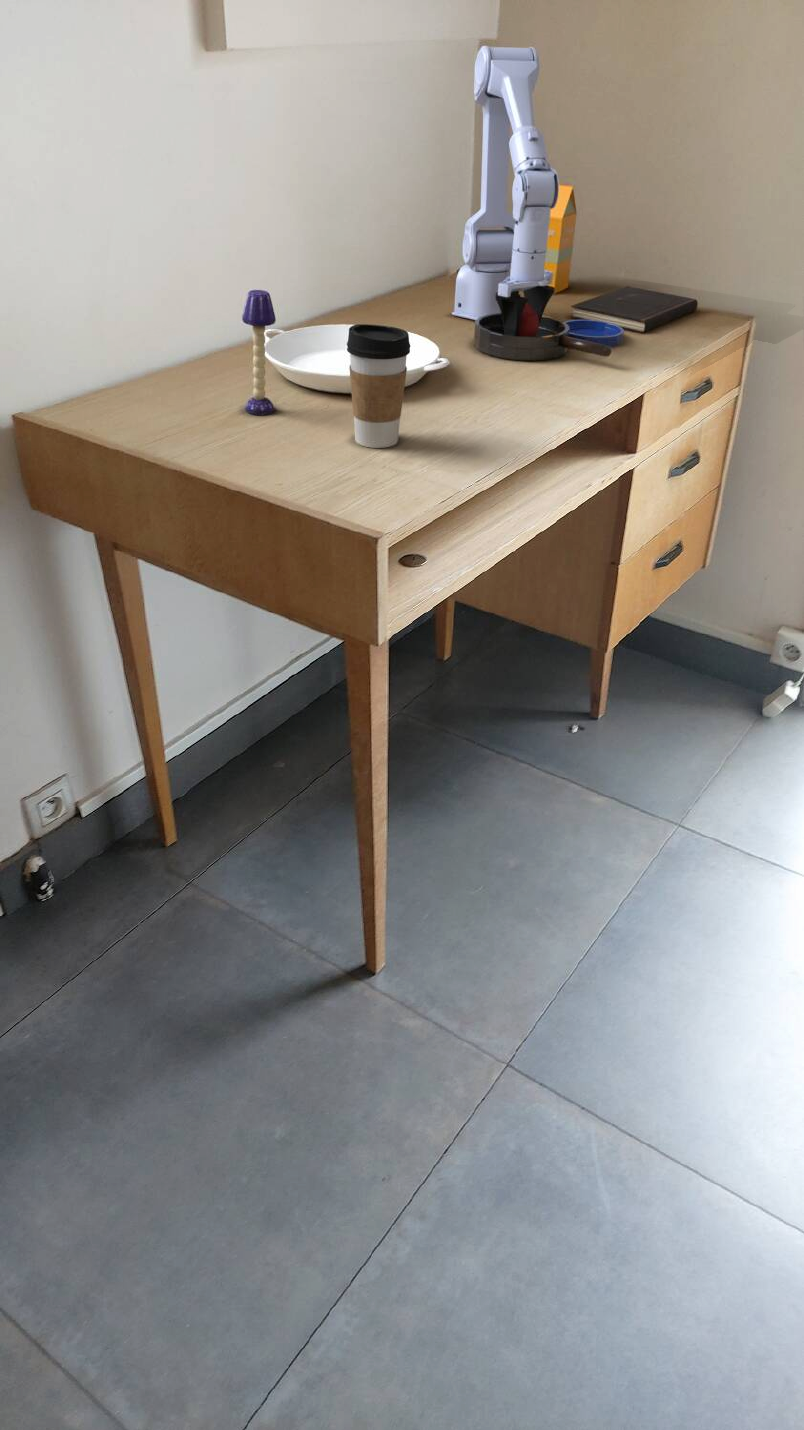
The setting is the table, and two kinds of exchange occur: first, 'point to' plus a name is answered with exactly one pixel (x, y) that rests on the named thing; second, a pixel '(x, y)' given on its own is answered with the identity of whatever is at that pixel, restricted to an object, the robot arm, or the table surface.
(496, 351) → the frying pan
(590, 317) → the hardcover book
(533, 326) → the onion
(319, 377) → the pan
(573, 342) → the pan handle
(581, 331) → the saucer
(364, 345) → the coffee cup
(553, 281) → the orange juice
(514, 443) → the table surface
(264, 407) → the toy lamp
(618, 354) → the table surface
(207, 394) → the table surface
